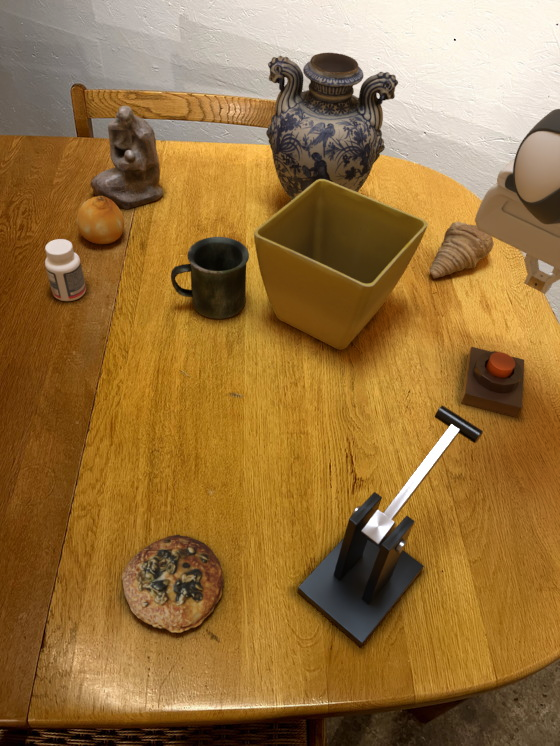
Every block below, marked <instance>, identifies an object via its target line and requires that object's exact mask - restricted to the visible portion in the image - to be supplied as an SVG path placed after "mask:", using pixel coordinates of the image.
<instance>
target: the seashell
mask: <svg viewBox="0 0 560 746" xmlns="http://www.w3.org/2000/svg"><path fill="white" fill-rule="evenodd" d="M494 242H495V241H494V239H493V237H492V236H490V235H488V234H486V233H484V232H482V231H480V230H478V228H477V226H476V224H468V223H466V222H461V221H455V222H453V223H451V224H450V226H449V227H448V228H447V229H446V231H445V233H444V237H443V240H442V242H441V243H440V244H441V245H440V247H439V248H438V250H437V252H436V254H435V256H434V259H433V261H432V263H431V266H430V267H429V273H430V275H431V278H432V279H433V280H434V279H438V278H442V277H445V276H446V275H451V274H453V273H457V272H462V271H463V270H464V269H473V268H476V266H477V263H479V262H480V261H481V259H484V258H486V257H487V256H488V255H489V254H490V253H491V252H492V250H493V249H494V245H495V244H494Z"/></svg>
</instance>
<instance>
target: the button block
mask: <svg viewBox="0 0 560 746" xmlns="http://www.w3.org/2000/svg"><path fill="white" fill-rule="evenodd" d="M496 352H498V351H496V350H492V351H491V350H487V349H483V348H479V347H476V346H475V347H474V346H471V347H470V349H469V351H468V354H467V356H466V365H465V371H464V377H463V379H464V380H463V385H462V394H461V400H460V403H461V404H463V405H466V406H471V407H474V408H479V409H483V410H486V411H490V412H493V413H498V414H502V415H505V416H510V417H513V418H518V416H519V414H520V413H521V411H522V409H523V395H524V377H525V359H524V358H520V357H517V356H512V355H510V356H511V357H512V358H513V359H514V361H515V367H514V369H513V371H512V373H511V375H510V376H509V377H507V378H498V377H494V376H493V375H492V374H490V373H489V372H488V371H487V368H486V365H487V363H488V361H489V358H490V356H491V355H492V354H493V353H496Z"/></svg>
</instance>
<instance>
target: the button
mask: <svg viewBox="0 0 560 746" xmlns="http://www.w3.org/2000/svg"><path fill="white" fill-rule="evenodd" d="M511 356H512V355H510V354H508V353H506V352H503V351H497V352H496V353H493V354H492V355H491V356H490V358H489V361H488V363H487V365H486V368H487V371H488V372H489V373H490V374H492V375H493V376H494V377H498V378H507V377H509V376H510V375H511V373H512V371H513V369H514V367H515V361H514V359H513V358H512V357H513V356H512V357H511Z"/></svg>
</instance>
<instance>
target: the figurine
mask: <svg viewBox="0 0 560 746" xmlns="http://www.w3.org/2000/svg"><path fill="white" fill-rule="evenodd" d="M107 132H108V140H109V141H108V142H109V154H110V156H109V158H110V160H111V163H112V165H113V166H114V167H112V168H109V169H105V170H103V171H101V172H99V173H98V174H96V175H95V176H94V177H93V178H92V179H91V182H90V186H91V189H92V192H93V194H94V196H95V197H97V196H104V197H107V198H109V199H110V200H112V201H113V202H114V203H115V204H116V205H117V206H118V208H119V209H124V210H127V209H129V210H130V209H133V208H137V207H138V206H141V205H147V204H150V203H152V202H155V201H157V200H159V199H160V198H162V197H164V194H163V193H164V192H163V189H162V187H161V186H160V185H159V184H160V178H161V168H160V160H159V155H158V150H157V139H156V135H155V131H154V128H153V126H151V125H150V123H148V121H147V120H146V119H144V118H142V117H140V116H137V115H135V114H134V112H133V109H132V107H130V106H128V105H121V106H119V107H118V111H117V112H116V113H115V117H114V118H113V120H111V121H110V122H109V123H108V124H107Z"/></svg>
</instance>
